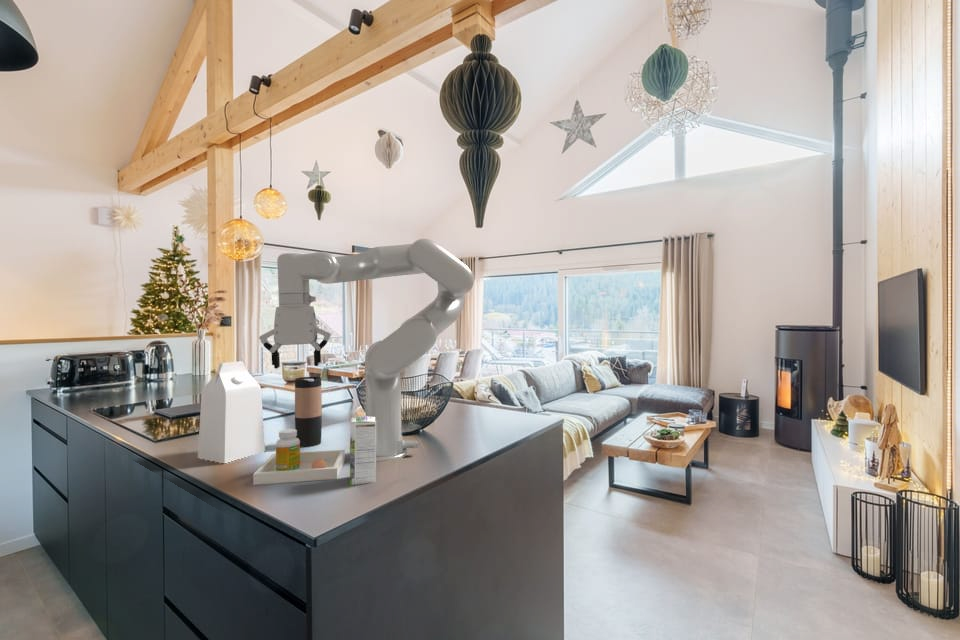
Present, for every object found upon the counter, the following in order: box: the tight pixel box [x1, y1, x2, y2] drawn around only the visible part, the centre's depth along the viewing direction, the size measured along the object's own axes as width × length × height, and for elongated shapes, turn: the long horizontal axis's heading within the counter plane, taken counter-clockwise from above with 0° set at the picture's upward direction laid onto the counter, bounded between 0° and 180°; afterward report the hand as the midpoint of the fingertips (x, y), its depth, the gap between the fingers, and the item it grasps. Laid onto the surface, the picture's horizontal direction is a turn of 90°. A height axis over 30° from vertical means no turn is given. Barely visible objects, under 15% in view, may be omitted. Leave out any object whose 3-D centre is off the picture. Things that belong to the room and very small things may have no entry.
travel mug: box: [294, 376, 323, 448], centre depth 132 cm, size 8×8×20 cm
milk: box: [197, 360, 266, 464], centre depth 122 cm, size 12×12×26 cm
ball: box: [312, 459, 326, 469], centre depth 105 cm, size 3×3×3 cm
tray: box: [252, 449, 346, 486], centre depth 106 cm, size 18×15×3 cm
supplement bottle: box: [275, 428, 301, 471], centre depth 107 cm, size 5×5×10 cm
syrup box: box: [349, 415, 377, 486], centre depth 100 cm, size 6×6×14 cm
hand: (297, 366), depth 113 cm, fingers open, 9 cm apart
